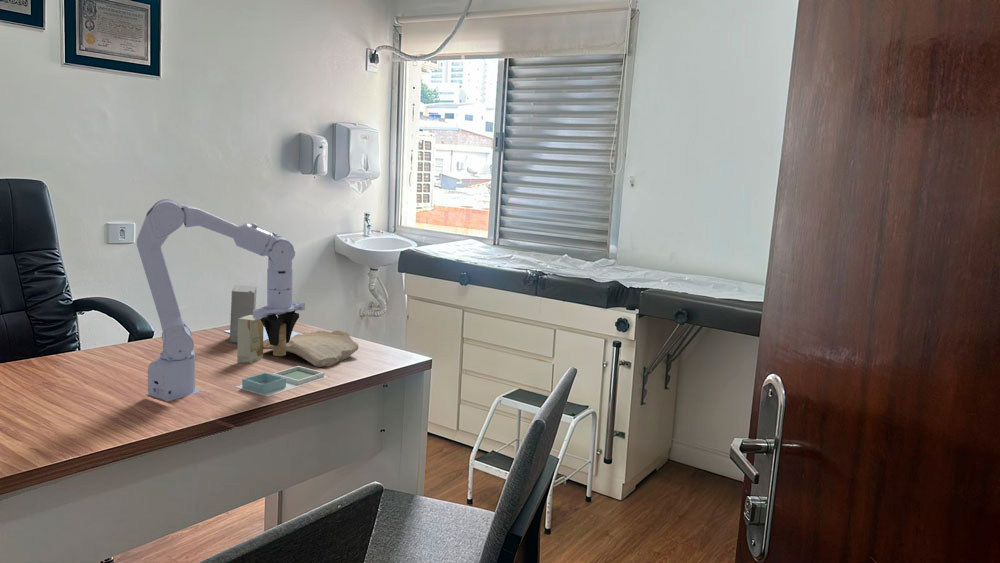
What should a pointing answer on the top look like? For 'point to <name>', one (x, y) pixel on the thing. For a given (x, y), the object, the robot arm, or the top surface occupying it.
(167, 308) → the robot arm
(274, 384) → the teal square tray
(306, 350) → the tan rock slab
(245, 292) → the skincare box
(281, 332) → the dowel
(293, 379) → the organizer
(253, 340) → the skincare box
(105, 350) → the top surface
